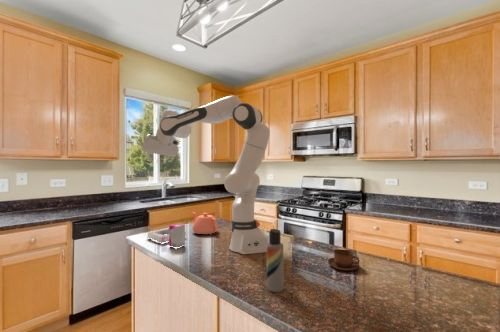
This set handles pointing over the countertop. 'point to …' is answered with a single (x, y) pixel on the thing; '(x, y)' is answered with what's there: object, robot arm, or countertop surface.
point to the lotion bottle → (275, 262)
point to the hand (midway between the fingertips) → (156, 161)
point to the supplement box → (176, 235)
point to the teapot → (204, 224)
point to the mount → (160, 235)
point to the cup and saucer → (344, 260)
